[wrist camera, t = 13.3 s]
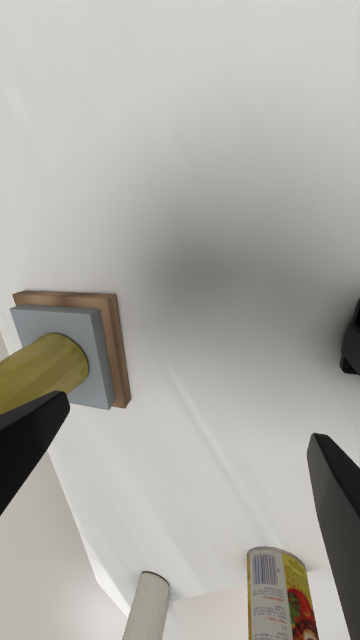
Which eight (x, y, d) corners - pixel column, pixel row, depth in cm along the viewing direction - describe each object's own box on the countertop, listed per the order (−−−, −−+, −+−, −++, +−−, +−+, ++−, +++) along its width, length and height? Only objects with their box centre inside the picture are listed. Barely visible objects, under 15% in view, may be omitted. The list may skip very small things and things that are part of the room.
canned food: (268, 581, 34) (281, 742, 24) (235, 550, 33) (233, 703, 23) (317, 577, 31) (358, 763, 20) (282, 543, 30) (306, 719, 19)
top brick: (99, 308, 21) (89, 314, 20) (115, 400, 25) (109, 410, 24) (23, 303, 23) (9, 308, 22) (49, 389, 27) (40, 397, 26)
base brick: (115, 294, 22) (107, 299, 20) (130, 399, 27) (125, 408, 25) (25, 290, 24) (12, 294, 23) (54, 386, 29) (45, 394, 28)
